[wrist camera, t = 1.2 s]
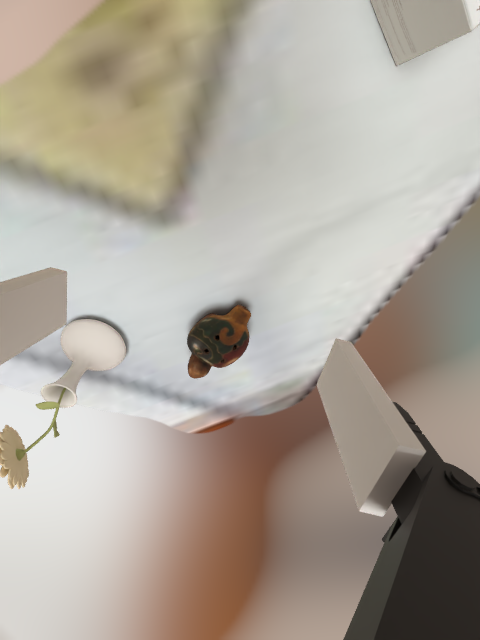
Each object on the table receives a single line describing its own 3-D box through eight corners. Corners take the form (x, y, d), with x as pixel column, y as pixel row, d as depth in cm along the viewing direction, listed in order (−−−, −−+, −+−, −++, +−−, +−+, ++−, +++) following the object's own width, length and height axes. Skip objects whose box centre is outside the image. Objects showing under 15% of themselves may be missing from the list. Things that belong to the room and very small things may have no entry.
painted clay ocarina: (176, 345, 54) (166, 371, 47) (218, 282, 48) (215, 302, 41) (219, 368, 57) (216, 396, 50) (264, 311, 51) (268, 334, 44)
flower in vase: (67, 305, 49) (-60, 431, 28) (134, 325, 52) (61, 455, 31) (63, 359, 56) (-42, 494, 35) (122, 375, 58) (56, 509, 37)
